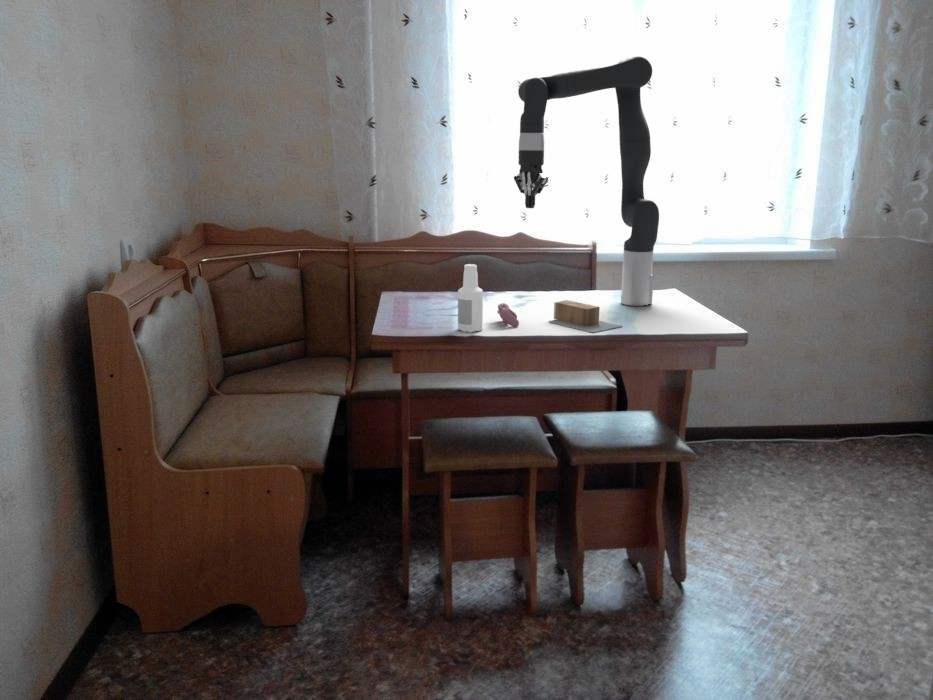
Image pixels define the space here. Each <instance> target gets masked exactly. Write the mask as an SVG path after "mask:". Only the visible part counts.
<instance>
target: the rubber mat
mask: <svg viewBox="0 0 933 700" xmlns="http://www.w3.org/2000/svg"><path fill="white" fill-rule="evenodd" d="M548 323H550V324H554V325H558V324H559V326H562V325H563V326H562V327H566V326H567V328H570V327H572V329H574V328H577V329H576V330H578V329H581V330H580V331H582V330H585V331H584V332H586V331H589V332H588V333H591V332H596V333H600V332H599V331H601V332H604V330H605V331H609V330H608V329H610V330H614V329H613V328H615V329H619V328H618V327H620V328H622V327H623V326H622V325H619V324H616V323H615V324H614V323H611V322H605V321H602V320H599V324H597V325H592V326H588V327H586V326H582V325H578V324H573V323H569V322H565V321H561V320H557V319H554V320H549V321H548Z"/></svg>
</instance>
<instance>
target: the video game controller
mask: <svg viewBox="0 0 933 700" xmlns="http://www.w3.org/2000/svg"><path fill="white" fill-rule="evenodd" d="M497 309H498V310H497V311H496V313H497V314H498V315H499V317H500V318H501V320H502V323H503V324H505V326H506V325H509V326H510V327H514V328H517V327H519V325H520V322H519V320H518V315H517V314H516V313H515V312H514V311H513V310H512V309H511V308H510V306H509V304H507V303H505V302H504V303H503V302H502V303H499V304H498V306H497Z"/></svg>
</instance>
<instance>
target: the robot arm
mask: <svg viewBox="0 0 933 700" xmlns="http://www.w3.org/2000/svg"><path fill="white" fill-rule="evenodd" d="M652 75H653V66H652V64H651V62H650V61H649V59H647V58H645V57H643V56H640V55H634V56H629V57H624V58H622V59H620V60H619V61H618V62H617V63H616V64H612V65H607V66H602V67H601V66H600V67H596V68H588V69H578V70H577V69H576V70H572V71H565V72H559V73H556V74H553V75H549V76H540V77H535V76H534V77H531V78H528V79H525V80H523V81H522V82H521V83H520V85H519V87H518V89H517V91H518V96H519V98H520V100H521V101H522V102H523V112H522V114H521V116H520V122H519V123H520V124H519V139H518V163H517V164H518V165H519V166H520V169H519V173H518V174H517V175H514V177H513V179H514V182H515V184H516V185H517V187H518V190H519V192H520V194H523V195H524V198H525V200H524V205H525V208H526V209H534V208H535V206H536V196H537V195H539V194H541V192H542V191H543V190H544V188H545V186H546V184H547V183H548V180H549V177H548V176H545V175H544V174H543V168H542V167H543V166H544V161H545V138H544V137H545V132H544V131H545V114H546V109H547V104H548V101H549V100H552V99H557V100H558V99H565V98H571V97H575V96H580V95H581V96H582V95H584V94H589V93H590V94H591V93H594V92H598V91H604V90H608V89H614V90H615V95H616V101H617V110H618V130H619V131H618V133H619V134H618V135H619V151H620V152H619V153H620V155H619V156H620V163H621V165H620V167H621V168H620V169H621V204H620V205H621V209H620V212H621V214H620V215H621V219H622V221H623V222H624V224H625V225H626V226H627V227H629V228H631V234H630V237H629V238H628V239H626V240H625V241H624V243H623V253H622V254H623V256H622V258H623V259H622V274H621V275H622V277H621V294H620V303H621V304H622V305H626V306H631V307H632V306H634V307H643V306H644V305H646V306H649V305H648V304H652V305H653V296H654V295H653V293H654V292H653V291H654V274H653V261H654V247H655V245H656V243H657V240H658V234H659V233H658V231H659V224H660V223H659V221H660V211H659V207H658V205H657V204H656V202H654V200H650V199H646V198H645V193H644V192H645V191H644V179H645V175H646V173H647V168H648V167H649V164H650V160H651V155H652V154H651V153H652V151H651V150H652V147H651V134H650V132H651V131H650V129H649V125H648V123H647V120H646V119H647V118H646V117H645V114H644V110H643V107H642V103H641V102H642V101H641V88H643V87H644V86H646V85H647V84H648V83H649V82H650V80H651V78H652Z"/></svg>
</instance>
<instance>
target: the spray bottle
mask: <svg viewBox="0 0 933 700" xmlns="http://www.w3.org/2000/svg"><path fill="white" fill-rule="evenodd" d="M463 266H464V270H463V279H462V287H461V288H459V289H458V290H457V330H458V329H459V330H462V331H478V332H480V331H479V330H481V331H482V330H483V325H484V324H483V318H484V317H483V314H484V313H483V311H484V310H483V309H484V304H483V303H484V302H483V301H484V300H483V299H484V291H483V289H482V288H481V287H479V280H478V279H479V278H478V276H479V275H478V274H479V273H478V266H477V264H475V263H468V264H464V265H463ZM459 330H458V331H459ZM462 331H461V332H462Z"/></svg>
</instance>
